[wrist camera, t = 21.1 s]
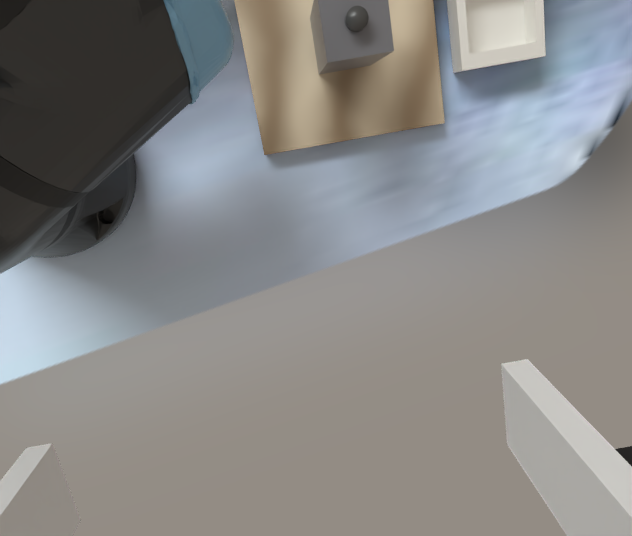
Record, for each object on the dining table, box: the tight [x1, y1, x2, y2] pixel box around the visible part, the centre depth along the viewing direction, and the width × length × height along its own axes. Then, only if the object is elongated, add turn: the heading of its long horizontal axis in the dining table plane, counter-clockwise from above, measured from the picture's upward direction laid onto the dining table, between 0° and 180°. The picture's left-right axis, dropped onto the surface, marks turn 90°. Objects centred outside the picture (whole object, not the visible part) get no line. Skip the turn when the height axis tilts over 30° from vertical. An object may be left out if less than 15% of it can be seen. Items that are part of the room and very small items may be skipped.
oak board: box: [234, 0, 445, 155], centre depth 44 cm, size 16×16×1 cm
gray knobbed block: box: [310, 0, 394, 74], centre depth 38 cm, size 4×4×11 cm
